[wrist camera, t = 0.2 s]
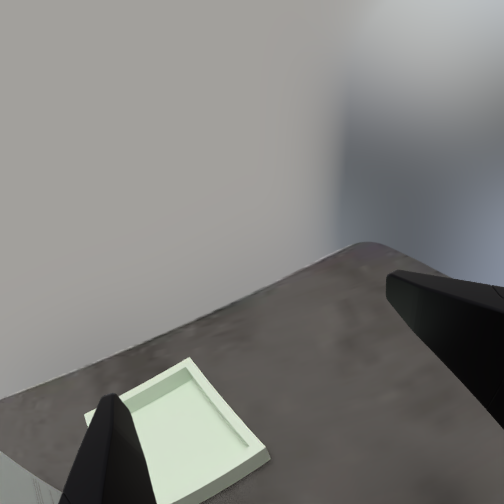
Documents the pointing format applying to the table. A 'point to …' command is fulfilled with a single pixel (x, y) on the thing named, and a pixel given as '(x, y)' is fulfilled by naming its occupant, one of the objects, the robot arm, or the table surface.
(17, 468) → the supplement box
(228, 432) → the dock tray
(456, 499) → the table surface
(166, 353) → the table surface
